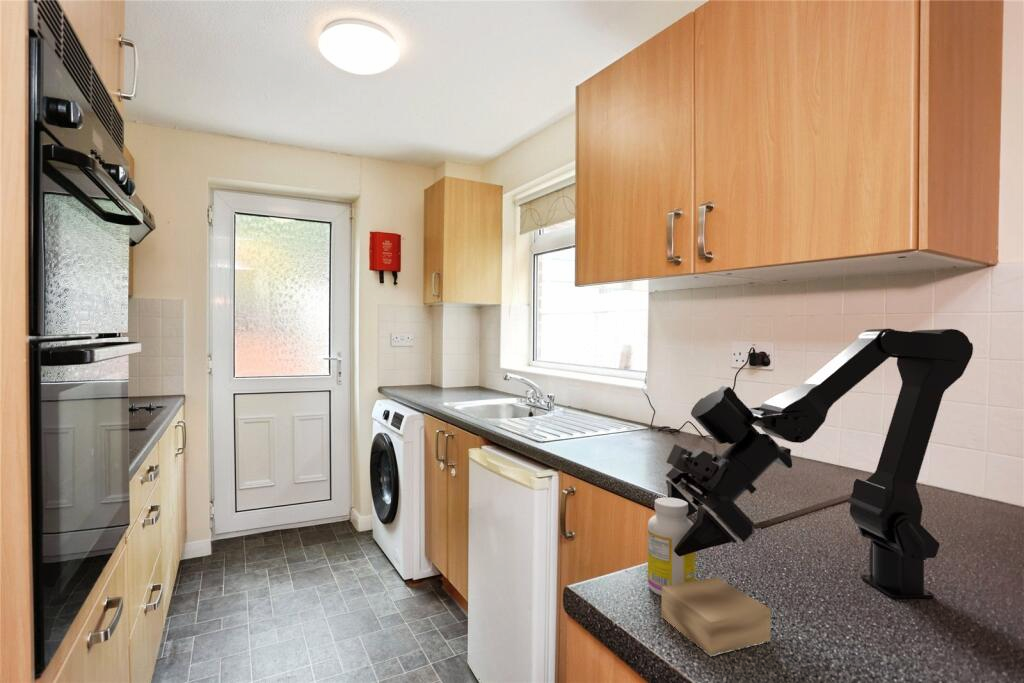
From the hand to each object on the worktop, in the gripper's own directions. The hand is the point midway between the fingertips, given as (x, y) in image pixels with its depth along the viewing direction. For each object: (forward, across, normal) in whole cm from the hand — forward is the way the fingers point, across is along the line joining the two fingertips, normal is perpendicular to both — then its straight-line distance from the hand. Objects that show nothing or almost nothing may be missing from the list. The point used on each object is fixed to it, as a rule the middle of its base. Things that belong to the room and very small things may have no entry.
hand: (664, 540), depth 74 cm
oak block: (+3, +10, +7) cm, 13 cm away
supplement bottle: (+4, 0, +6) cm, 7 cm away
